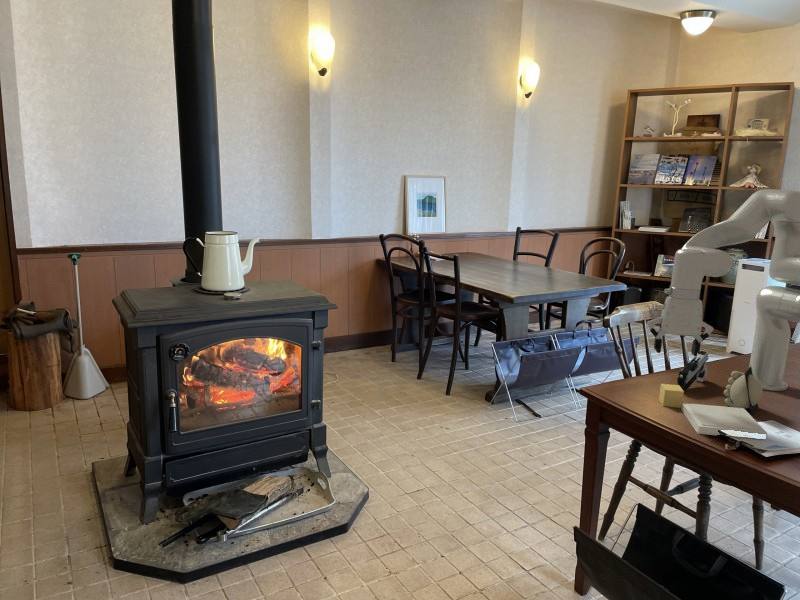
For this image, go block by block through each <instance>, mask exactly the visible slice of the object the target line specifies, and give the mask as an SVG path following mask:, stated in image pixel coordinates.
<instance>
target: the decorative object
mask: <svg viewBox="0 0 800 600" xmlns="http://www.w3.org/2000/svg"><path fill="white" fill-rule="evenodd" d="M730 376H731V377H729V378H728V379H727V381H728V384H727V385H726V386H725V389H724V391H723V395H724V396H725V397H726V398H725V399H724V403H725V404H726V406H727V407H734V408H744V409H745V410H746V409H750V415H751V416H752V417H754V415H755V413H757V411H758V409H759V402H760V400H761V399H762V396H763V392H764V391H763V390H764V389H763V387H762V383H761V381H760V380H759V379H758V378H757V377H756V376H754V375H753V373H752V368H751V366H750V368H749V367H748V369H747V370H746V371H745V373H744V372H741V371H738V370H734V371H731V373H730Z"/></svg>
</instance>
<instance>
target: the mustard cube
mask: <svg viewBox="0 0 800 600" xmlns="http://www.w3.org/2000/svg"><path fill="white" fill-rule="evenodd" d="M684 393H685V392H684V391H683V390H682V388H681V387H680V386H679V385H678V384H667V383H660V387H659V396H658V400H659V402H660V404H661V405H662V407H668V408H670V407H671V408H681V407H682V403H684V402H683V399H684Z"/></svg>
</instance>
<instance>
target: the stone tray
mask: <svg viewBox="0 0 800 600" xmlns="http://www.w3.org/2000/svg"><path fill="white" fill-rule="evenodd" d="M681 411H682V413H683V415H685V417H686V418H687V420H688V422H690V423H689V424H690V425H691V426H692V427H693V429H694V431H695V432H696V433H697V434H701V435H709V436H710V435H711V436H717V435H720V434H719V432H718V430H734V431H741V432H748V433H758V434H766V435H768V432H767V431H766V430H765V429H764V428H763V427H762V425H761V424H759V422H758V421H756V419H754V418H753V417H754V416H753V417H752V415H751V413H749V412H748V411H747V410H746V408H745V409H744V408H734V407H730V406H723V405H722V406H721V405H708V404H698V403H689V402H682V407H681Z"/></svg>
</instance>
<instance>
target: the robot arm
mask: <svg viewBox="0 0 800 600" xmlns="http://www.w3.org/2000/svg"><path fill="white" fill-rule="evenodd" d="M769 222H771V224H772V225H773V227H774V232H775V238H774V245H773V250H772V254H771V259H770V261H769V262H770V264H769V268H768V274H769V277H770V278H771V279H772V280H774V281H776V282H780V283H783V284H789V285H794V286H800V191H797V190H790V189H789V190H788V189H774V188H773V189H770V188H768V189H765V188H764V189H760V190H757V191H755V192H753V193H752V194H751V195H750V196H749V197H748V198H747V199H746V200H745V202H744V203H742V204H741V205H740V206H739V208H738V209H737V210H736V211H735V212H733V214H731V215H730V217H728V218H727V219H725V220H723V221H720V222H718V223H715V224H714V225H713V224H712V225H711V226H709V227H707V228H704V229H702V230H700V231H698V232H697V233H696V234H694V235H693V236H692V237H691V238H690V239H688V240H687V242H685V244H684V245H683V246H682V247H681V248H680V249H678V250H676V252H675V254H674V259H673V267H672V275H671V280H670V281H671V282H670V285H669V288H664V294H667V295H668V296H666V298H665V301H664V303H663V307H662V311H661V315H660V316H658V317H656V318H653V319H651V320H648V321H646V325H647V327H648V329H649V332H650V333H651V334H652V335H653V336H654V342H653V349H654V350H655V352H656V353H657V354H660V353H661V351H662V344H663V339H662V337H664V335H673V336H684V337H694V339H693V340H692V345H691V350H690V353H691V355H693V357H694V356H697V353H699V351H700V350H701V343H703V342H704V341H705V340H706V339H707V338H709V337H710V335H711V334H712V332H714V327H713V326H711V325H710V324H708V323H707V322H705V321H703V300H701V299H700V296H701V289H702V281H703V277H704V276H705V277H712V278H713V277H714V278H718V277H722V276H725V275H727V274H728V273H729V272H730V271H731V269H732V267H733V258H732V257H731V254H729V253H728V252H727V251H724V250H722V249H721V250H720V249H718V248H721V247H726V246H733V245H738V244H743V243H747V242H749V241H752V240H754V238H755V237H756V236H757V235H758V234H759V233H760V232H761V231H762V230H763V229H764V228H765V226H767V225H768V223H769ZM755 307H756V309H755V310H756V320H755V321H756V322H755V329H754V335H753V342H752V348H751V352H750V353H751V354H750V360H749V366H748V369H749V368H750V366H751V368H752V373H753V375H754V376H756V377H757V378H758V379H759V380H760V381H761V383H762V387H763V390H765V391H772V392H774V391H775V392H781V391H786V390H788V386H789V385H788V383H787V382H786V381H784V376H785V369H786V363H787V358H788V351H789V347H790V341H791V335H792V334H791V333H792V332H791V327H790V324H789V322H795V323H797V324H798V323H799V324H800V290H799V289H794V288H791V287H785V286H781V285H769V286H768V285H767V286H765V287H763V288H761V289H760V290H759V291H758V293H757V295H756V299H755ZM788 321H789V322H788ZM657 324H659V326H658V327H659V328H658V329H657V330H656V329H655V325H657ZM702 328H704V329H705V330H704V332H703V331H702ZM701 332H702V333H701Z"/></svg>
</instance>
